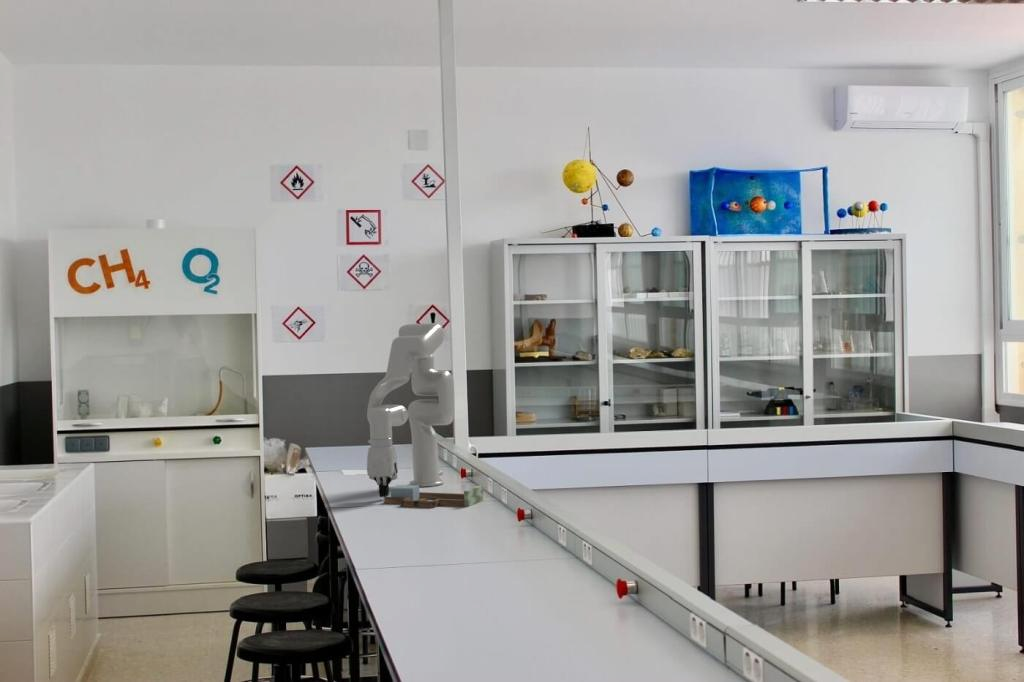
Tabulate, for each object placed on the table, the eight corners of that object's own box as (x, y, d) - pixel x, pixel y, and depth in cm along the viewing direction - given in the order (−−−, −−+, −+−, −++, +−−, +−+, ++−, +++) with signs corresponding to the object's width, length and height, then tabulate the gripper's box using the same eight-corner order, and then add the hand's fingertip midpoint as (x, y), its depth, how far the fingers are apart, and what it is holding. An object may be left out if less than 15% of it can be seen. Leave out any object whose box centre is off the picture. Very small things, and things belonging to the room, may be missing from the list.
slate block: (397, 499, 381) (397, 485, 381) (419, 499, 379) (419, 485, 378) (391, 502, 375) (390, 488, 375) (413, 503, 373) (412, 488, 373)
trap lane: (401, 497, 384) (400, 483, 384) (483, 500, 371) (482, 485, 371) (377, 505, 370) (377, 490, 370) (462, 509, 357) (461, 493, 356)
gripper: (357, 444, 379) (359, 497, 380) (394, 445, 373) (397, 499, 374) (368, 441, 386) (371, 493, 387) (405, 442, 380) (408, 495, 380)
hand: (384, 496), depth 380 cm, fingers closed
